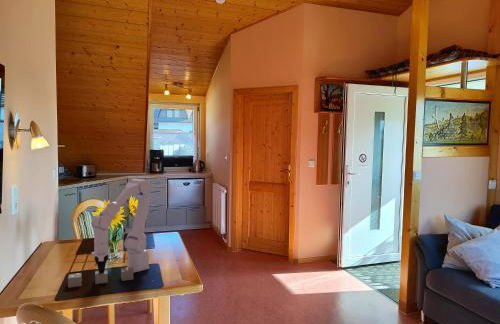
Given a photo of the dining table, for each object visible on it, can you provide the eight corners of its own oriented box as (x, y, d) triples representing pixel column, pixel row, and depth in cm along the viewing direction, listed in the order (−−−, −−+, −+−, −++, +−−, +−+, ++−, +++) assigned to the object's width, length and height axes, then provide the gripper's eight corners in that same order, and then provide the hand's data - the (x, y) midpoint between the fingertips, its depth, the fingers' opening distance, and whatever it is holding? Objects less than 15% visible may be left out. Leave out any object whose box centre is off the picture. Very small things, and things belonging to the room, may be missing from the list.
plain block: (107, 278, 165) (107, 269, 164) (107, 282, 160) (107, 273, 160) (95, 280, 163) (95, 271, 162) (95, 284, 158) (95, 275, 158)
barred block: (132, 275, 169) (132, 266, 168) (133, 279, 164) (133, 270, 164) (121, 276, 167) (121, 267, 167) (121, 280, 162) (121, 271, 162)
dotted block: (81, 281, 161) (81, 272, 160) (81, 285, 156) (80, 276, 156) (69, 283, 159) (68, 273, 158) (68, 287, 154) (68, 278, 154)
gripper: (92, 238, 166) (92, 267, 166) (90, 247, 152) (91, 279, 153) (108, 237, 168) (109, 266, 169) (108, 246, 155) (108, 277, 155)
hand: (101, 272), depth 161 cm, fingers closed
